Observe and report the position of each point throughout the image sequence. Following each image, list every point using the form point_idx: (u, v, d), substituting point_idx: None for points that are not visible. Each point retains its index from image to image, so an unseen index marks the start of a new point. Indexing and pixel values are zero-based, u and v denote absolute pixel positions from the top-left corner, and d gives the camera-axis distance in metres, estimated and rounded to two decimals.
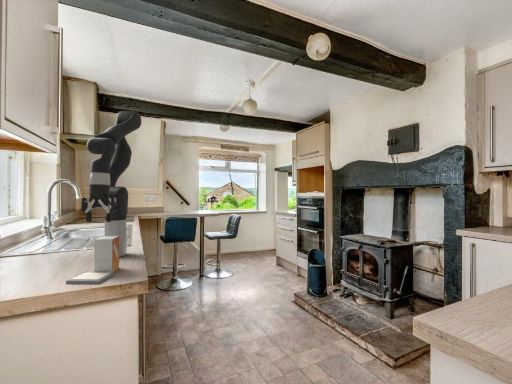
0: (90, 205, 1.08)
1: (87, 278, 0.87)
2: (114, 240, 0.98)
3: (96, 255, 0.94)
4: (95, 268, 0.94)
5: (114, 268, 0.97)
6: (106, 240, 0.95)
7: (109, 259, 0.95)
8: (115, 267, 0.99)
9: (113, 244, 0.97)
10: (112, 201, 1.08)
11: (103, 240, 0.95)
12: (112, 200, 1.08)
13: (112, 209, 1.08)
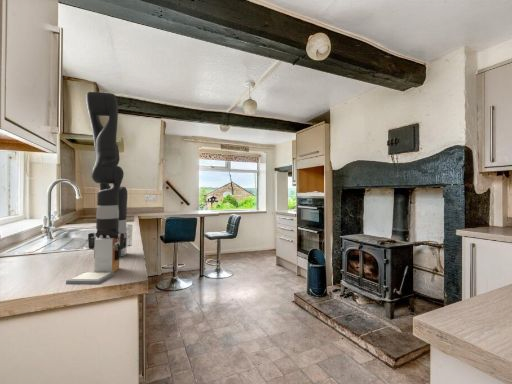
0: None
1: (87, 278, 0.87)
2: (114, 240, 0.98)
3: (96, 255, 0.94)
4: (95, 268, 0.94)
5: (114, 268, 0.97)
6: (106, 240, 0.95)
7: (109, 259, 0.95)
8: (115, 267, 0.99)
9: (113, 244, 0.97)
10: (121, 238, 0.98)
11: (103, 240, 0.95)
12: (122, 236, 0.98)
13: (121, 246, 0.98)
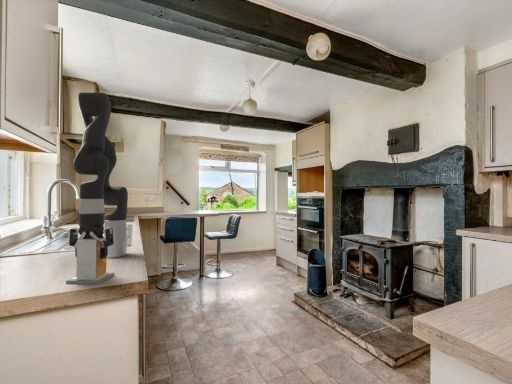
0: (80, 239, 0.88)
1: None
2: None
3: (78, 258, 0.85)
4: (77, 272, 0.85)
5: (98, 273, 0.88)
6: (89, 241, 0.86)
7: (92, 262, 0.86)
8: (100, 271, 0.89)
9: (98, 245, 0.87)
10: (107, 233, 0.88)
11: (86, 241, 0.86)
12: (107, 232, 0.88)
13: (107, 243, 0.88)
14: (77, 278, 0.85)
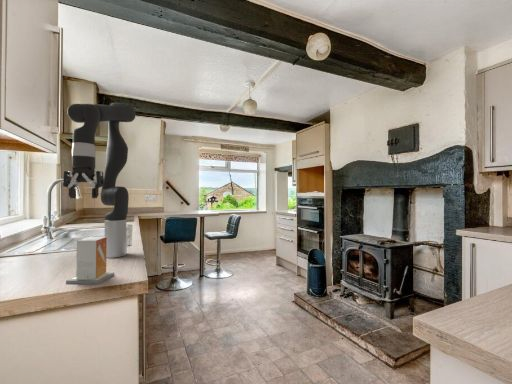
0: (73, 179, 0.97)
1: None
2: (99, 241, 0.88)
3: (78, 258, 0.85)
4: (77, 272, 0.85)
5: (98, 273, 0.88)
6: (89, 241, 0.86)
7: (92, 262, 0.86)
8: (100, 271, 0.89)
9: (98, 245, 0.87)
10: (98, 175, 0.97)
11: (86, 241, 0.86)
12: (98, 174, 0.97)
13: (98, 184, 0.97)
14: (77, 278, 0.85)
